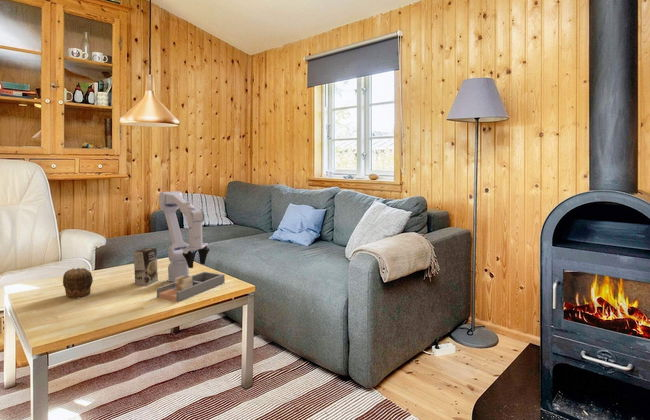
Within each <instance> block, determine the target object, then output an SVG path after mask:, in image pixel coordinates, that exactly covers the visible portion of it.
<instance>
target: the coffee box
mask: <svg viewBox="0 0 650 420" xmlns="http://www.w3.org/2000/svg"><path fill="white" fill-rule="evenodd" d="M157 251H158V250H157V247H144V248H140V249H137V250H134V251H133V263H134V265H133V267H134V285H135V286H146V287H147V286H149V285H151V284H153V283H156V282H158V281H159V275H158V273H159V272H158V252H157Z"/></svg>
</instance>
